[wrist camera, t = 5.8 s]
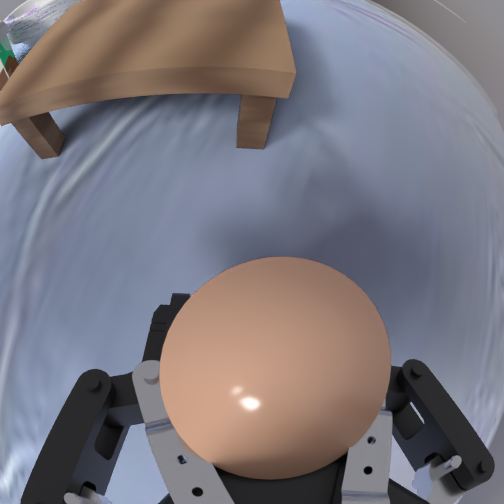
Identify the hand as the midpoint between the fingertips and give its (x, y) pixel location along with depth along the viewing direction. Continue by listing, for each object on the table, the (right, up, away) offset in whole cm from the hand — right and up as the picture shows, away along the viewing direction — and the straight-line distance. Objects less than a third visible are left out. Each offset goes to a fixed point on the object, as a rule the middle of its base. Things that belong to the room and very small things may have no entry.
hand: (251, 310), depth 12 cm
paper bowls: (-32, +38, +11) cm, 51 cm away
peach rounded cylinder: (0, -3, +4) cm, 5 cm away
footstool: (-9, +18, +8) cm, 21 cm away
